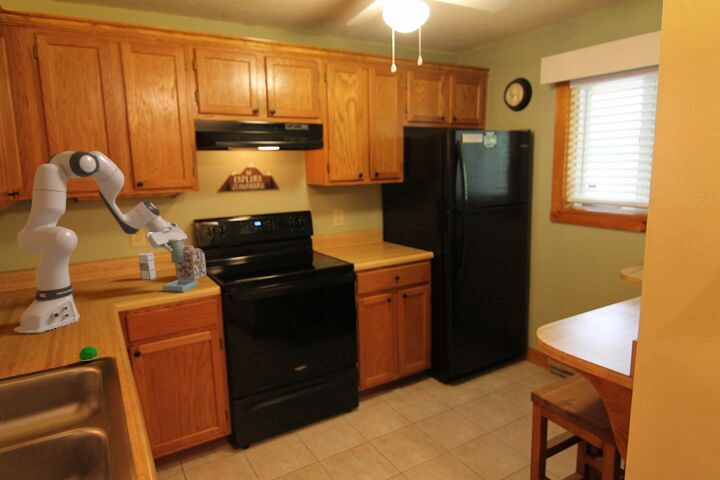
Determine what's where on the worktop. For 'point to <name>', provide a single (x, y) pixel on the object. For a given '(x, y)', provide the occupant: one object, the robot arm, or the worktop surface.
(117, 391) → the worktop surface
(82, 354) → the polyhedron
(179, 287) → the dish
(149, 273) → the syrup box
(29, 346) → the worktop surface
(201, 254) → the decorative jar
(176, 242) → the tea tin
